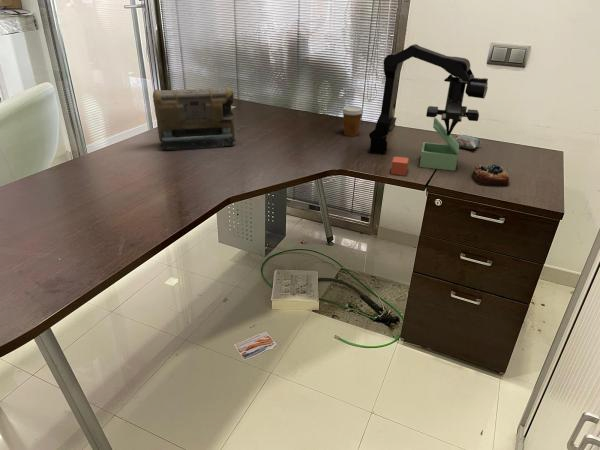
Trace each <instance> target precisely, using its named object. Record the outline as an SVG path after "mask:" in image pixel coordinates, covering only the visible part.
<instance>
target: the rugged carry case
mask: <svg viewBox="0 0 600 450" xmlns="http://www.w3.org/2000/svg"><path fill="white" fill-rule="evenodd" d="M234 97H235V96H234V90H233V89H232V88H231V87H230V86H226V87H221V88H220V87H218V88H189V89H170V90H167V89H163V90H161V89H154V90H153V92H152V100H153V101H152V102H153V106H154V113H155V118H156V124H157V134H158V139H159V141H160V145H162V150H163V151H180V150H181V151H182V150H197V149H211V148H223V147H231V146H235V144H234V141H235V137H236V134H235V133H236V132H235V129H236V128H235V112H234V111H233V109H232V105H233V104H234V101H235V99H234Z"/></svg>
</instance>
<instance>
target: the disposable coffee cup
mask: <svg viewBox="0 0 600 450" xmlns="http://www.w3.org/2000/svg"><path fill="white" fill-rule="evenodd" d="M341 112H342V115H343V116H342V118H343V132H344V135H345V136H348V137H356V136H358V135H359V130H360V125H361V121H362V116H363V113H364V110H363V108H362V107H360V106H355V105H349V106H344V107H343V108H342V111H341Z"/></svg>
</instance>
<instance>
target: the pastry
mask: <svg viewBox="0 0 600 450" xmlns="http://www.w3.org/2000/svg"><path fill="white" fill-rule="evenodd" d="M472 179H473V181H474V182H475V183H477V184H478V185H481V186H490V187H491V186H492V187H506V186H508V184H509V181H510V176H509V174H508V171H507V170H505V169H504V167H502V166H501V165H499V164H492V165H484V164H478V165H475V166H474V169H473V171H472Z"/></svg>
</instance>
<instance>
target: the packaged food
mask: <svg viewBox="0 0 600 450" xmlns="http://www.w3.org/2000/svg"><path fill="white" fill-rule="evenodd" d="M454 139H455V140H456V141H457V142H458V144H459V148H462V149H467V150H473V149H476V147H479V146H480V145H482V144H483V142H482V141H481V140H480V139H479V137H475V136H472V135H467V134H459V135H457V137H455V138H454Z"/></svg>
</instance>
